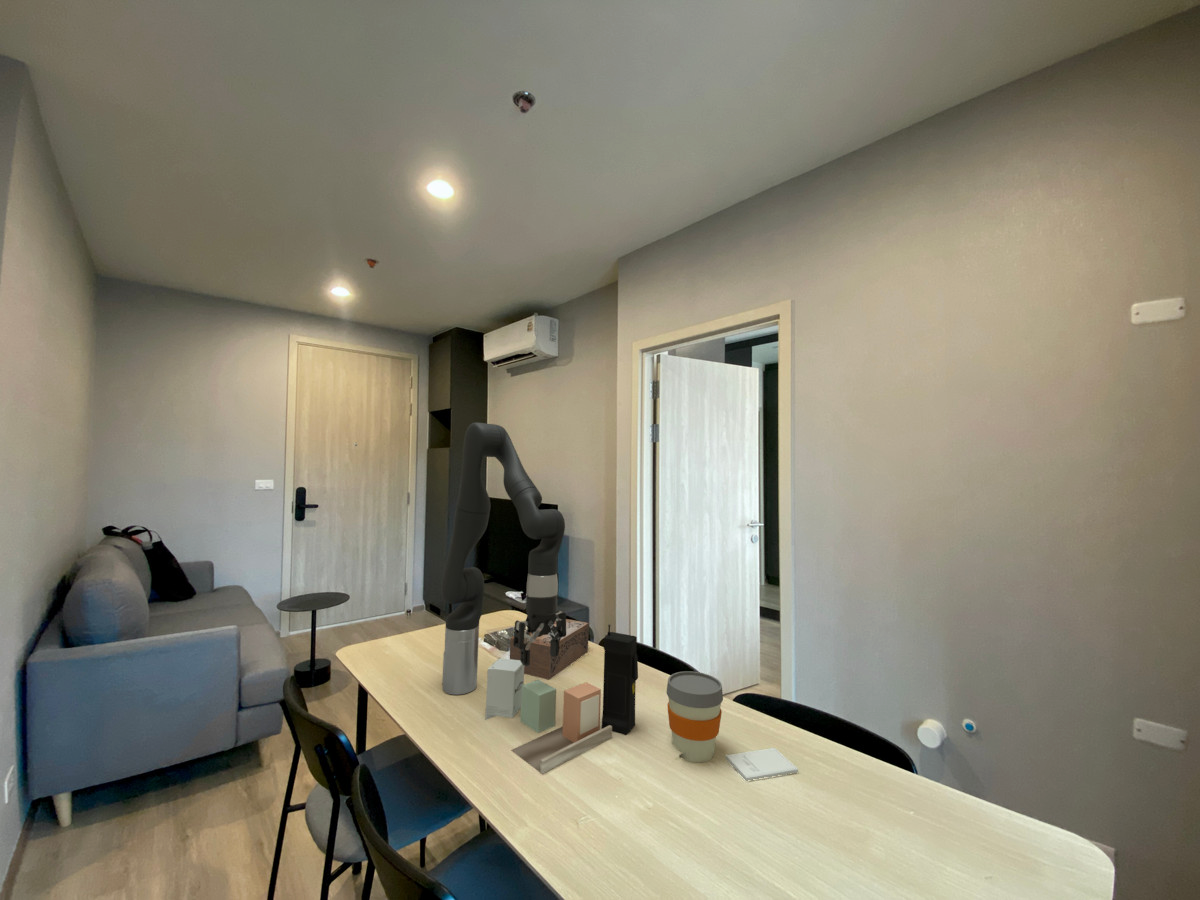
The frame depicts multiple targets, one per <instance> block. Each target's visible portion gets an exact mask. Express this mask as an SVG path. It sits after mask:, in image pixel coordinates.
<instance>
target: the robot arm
mask: <svg viewBox="0 0 1200 900" xmlns="http://www.w3.org/2000/svg"><path fill="white" fill-rule="evenodd" d="M508 433H509V432H507V430H506V429H505V428H504V427H503V426H502V425H500V424H494V423H484V422H472V423H471V424H469V426H467V429H466V430H465V434H464V438H463V439H464V440H463V447H462V449H463V451H462V461H461V463H462V465H461V476H460V483H459V491H458V495H457V502H456V506H455V512H454V520H453V527H452V534H451V540H450V546H449V549H448V554H447V558H446V562H445V565H444V569H443V573H442V576H441V577H442V578H441V583H440V594H441V598H442V600H443V601H444V603H446V604H447V605H455V604H459V606H458V607H457V608H456V609H455V610H453V611H452V612H450V613H449V614H448V615H446V619H445V633H444V651H443V659H442V660H443V661H442V665H443V666H442V680H441V681H442V682H441V686H442V691H443V692H444V693H445V694H448V695H458V696H459V695H464V694H468V693H471V692H473V691H474V690H476V688H477V683H478V663H479V639H480V638H479V637H480V620H481V617H482V615H483V613H482V612H483V603H484V593H485V580H484V574H483V573H482V571H481V570H480V569H479V568H478V567H476V566H475V567H473V566H472V567H466V565H467V564H466V563H467V560H468V558H469V555H470V554H471V552H472V551H473V549H474V548H475V546H476V545H477V544H478V543H479V541H480V539H481V538H482V537H483V536H484V534H485V532H486V530H487V528H488V524H489V519H490V513H491V505H492V504H491V499H490V496H489V493H488V491H487V489H486V486H485V484H484V481H483V477H482V464H483V458H496V459H497V461H498V462H499V463H500V464H501V466H502V467H503V480H502V481H503V486H504V490H505V492H506V494H507V496H508V497H509V499H510V500H511V502H512V503H513V505H514V507H515V508H516V511H517V515H518V519H519V522H520V526H521V529H522V531H523V533H524V534H525V535H526V536H527V537H528V538H530V539H532V540H541V541H540V543H539V545H538V546H536V547H535V548H533V549H531V550H530V551H529V554H528V563H527V564H528V568H527V569H528V570H527V572H528V573H527V581H526V592H525V593H526V597H525V598H526V599H525V601H526V602H525V612H526V619H525V620H515V621H514V630H513V637H514V640H513V646H514V647H516V648H518V649H520V650H521V656H520V661H521V663H522V664H523V665H524V666H529V665H530V650H529V648H530V646H531V645H532V643H533V642H534V641H535V640H536V638H537V637H540V636H542V635H548V634H549V636H550V637H551V638H552V640H550V655H551V656H553V657H557V656H558V653H559V641H560V639H561V638H562V637H565V636H566V619H567V614H566V612H563V611H560V610H558V593H559V592H558V589H559V585H558V583H559V582H558V581H559V580H558V557H559V553H560V550H561V546H562V542H563V539H564V535H565V530H566V524H565V523H566V522H565V518H564V515H563V514H562V512H560V510H558V509H554V508H549V509H539V507H540V506H541V504H542V503H543V502H542V501H543V496H542V494H541V492H540V491H539V489H538V488H537V486H536V485H535V483H534V482H533V480H532V479H531V477H530V476H529V475H528V473H527V472H526V469H525V468H524V466H523V464H522V462H521V459H520V457H519V454H518V452H517V450H516V449H515V446H514V443H513V441H512V439H511V437H510V435H509V434H508ZM555 621H556V628H555V626H554V623H555ZM525 630H526V631H525ZM530 633H531V634H532V636H530ZM526 642H527V643H526Z"/></svg>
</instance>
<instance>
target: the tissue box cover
mask: <svg viewBox="0 0 1200 900" xmlns="http://www.w3.org/2000/svg"><path fill="white" fill-rule="evenodd" d="M589 624H590V623H589V622H584V621H580V620H574V619H568V618H566V636H565V637H562V638H561V639H560V641H559V653H558V656H557V657H553V656H551V655H550V640H552V638H551V637H550V636H549V634H548V635H542V636H540V637H537V638H536V640H535V641H534V642H533V643H532V645H531V646H530V648H529V650H530V665H529V666H524V675H528V676H532V677H536V678H541V679H544V680H548V681H549V680H552V678H554V677H555V676H557V675H558V674H559V673H561V672H562V671H563V670H564V669H566V668H567V667H569V666H571V665H572V664H573V663H574V662H576V661H578V660H579V659H580V658H581V657H583V656H584V655H585V654H587V653H588V652H589V632H590V631H589V629H590V628H589V627H590V625H589ZM554 626H555V628H556V621H555V623H554ZM525 631H526V630H525ZM530 636H532V634H531V633H530ZM513 640H514V636H512V637H510V639H509V642H510V643H509V659H512V660H520V656H521V650H520V649H518V648H516V647H514V646H513ZM526 643H527V642H526Z"/></svg>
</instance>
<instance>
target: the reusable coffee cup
mask: <svg viewBox="0 0 1200 900" xmlns="http://www.w3.org/2000/svg"><path fill="white" fill-rule="evenodd" d="M666 695H667V697H668V702H667V705H666V706H667V715H668V716H667V717H668V724H669V725H668V726H669V729H670V730H671V737H672V738H671V739H672V744H673V746H674V747H675V748H676V749H677V750H678V751H680V752H681V754H679V755H678V757H679V758H680V759H683V760H684V761H687V762H691V763H692V762H693V763H704V762H709V761H710V760H711V759H712V758H713V757H714V755H715V754H714V753H715V749H716V742H717V736H718V735H719V734H720V733H719V732H720V728H721V727H720V726H721V719H722V709H721V707H722V706H721V705H722V703H723V700H724V694H723V685H722V682H721V681H720V680H719V679H718V678H716V677H714V676H712V675H710V674H707V673H703V672H700V671H678V672H675V673H672V674H671V675H669V677H668V679H667V686H666Z"/></svg>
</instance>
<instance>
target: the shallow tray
mask: <svg viewBox="0 0 1200 900" xmlns="http://www.w3.org/2000/svg"><path fill="white" fill-rule="evenodd" d="M612 738H613V731H612V726H611V725H609V726H607V727H605V728H603V729H602V728H600V730H599V731H597V732H595V733H593V734H591V735H589V736H587V737H585V738H583V739H581V740H579V741H577V742H575V743H573V742H572V741H570V740H569V739H567V738H566V737H564V736H563V725H562V726H560V727H558V728H556V729H554V730H551V731H549V732H547V733H545V734H543V735H541V736H538V737H535V738H534V739H532V740H530V741H528V742H526V743H523V744H521V745H518V746H517V747H515V748H512V749H510V751H511V752H512V753H514V754H515V755H516V756H518V758H520V759H522V760H523V761H524V762H526V763H527V764H528V765H529V766H531V767H533V769H534V770H536V771H537V772H539V773H540V774H541V775H544V774H546V773H547V772H549V771H551V770H553V769H555V768H557V767H559V766H561V765H563V764H564V763H566V762H568V761H570V760H572V759H574V758H576V757H578V756H579V755H582V754H583V753H585V752H588V751H589V750H591V749H592V748H594V747H596V746H599V745H601V744H602V743H604V742H606V741H608V740H610V739H612Z"/></svg>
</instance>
